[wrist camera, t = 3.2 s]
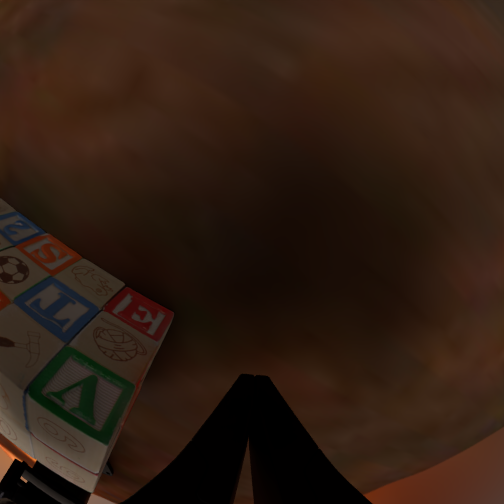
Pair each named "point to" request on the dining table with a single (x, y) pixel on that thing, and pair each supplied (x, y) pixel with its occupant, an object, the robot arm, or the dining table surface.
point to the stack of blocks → (68, 351)
